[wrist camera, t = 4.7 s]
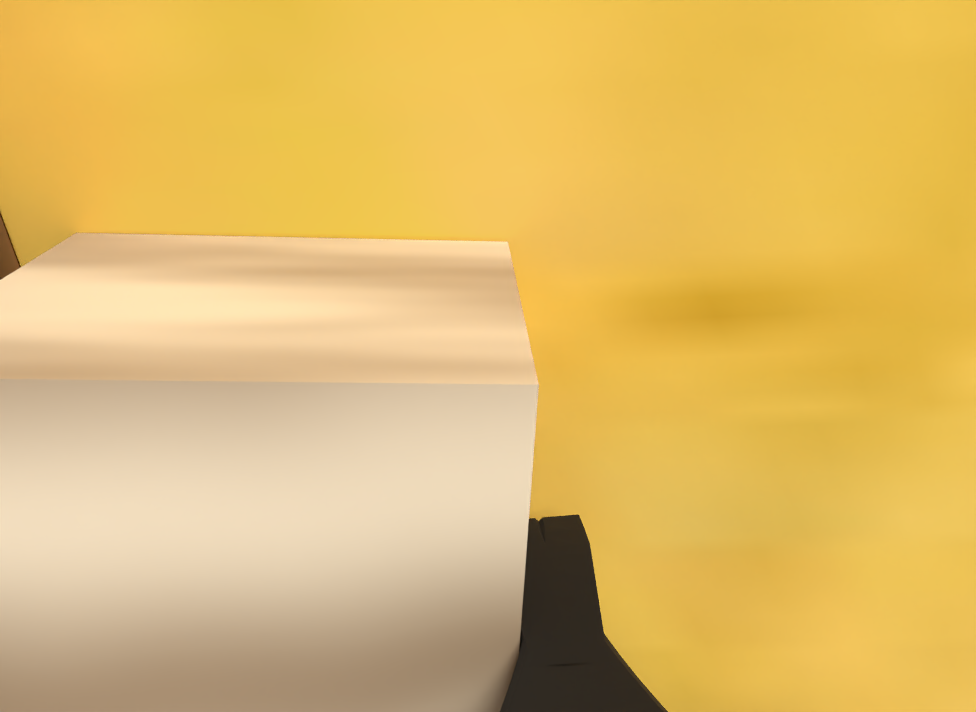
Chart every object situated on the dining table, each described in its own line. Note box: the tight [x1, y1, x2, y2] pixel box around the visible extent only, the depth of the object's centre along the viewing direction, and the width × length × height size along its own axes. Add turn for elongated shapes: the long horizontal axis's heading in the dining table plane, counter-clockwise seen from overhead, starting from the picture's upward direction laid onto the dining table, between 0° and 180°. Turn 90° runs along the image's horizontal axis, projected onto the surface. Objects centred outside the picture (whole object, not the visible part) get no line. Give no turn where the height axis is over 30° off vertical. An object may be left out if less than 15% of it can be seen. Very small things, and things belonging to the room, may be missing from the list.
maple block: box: [0, 233, 539, 712], centre depth 12 cm, size 10×7×5 cm
